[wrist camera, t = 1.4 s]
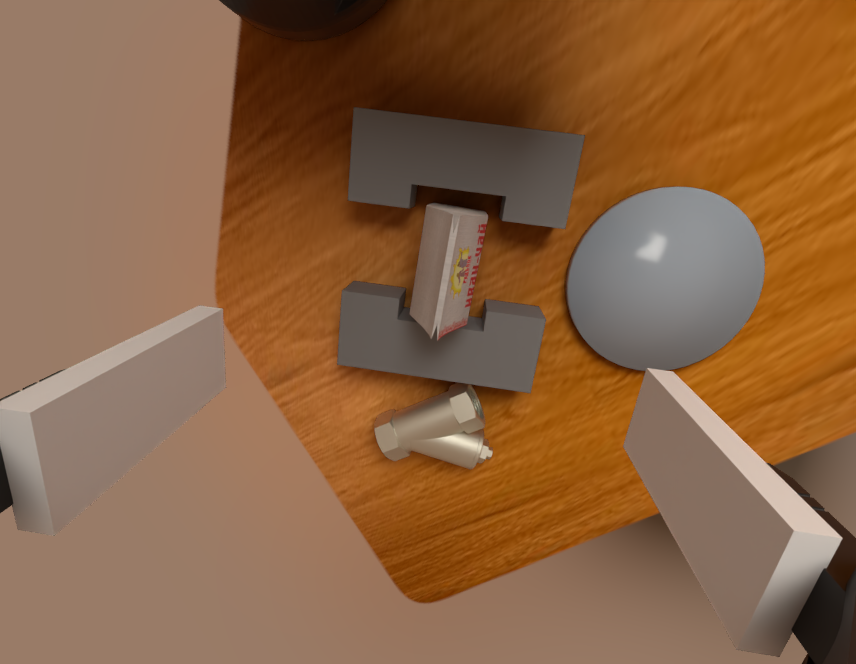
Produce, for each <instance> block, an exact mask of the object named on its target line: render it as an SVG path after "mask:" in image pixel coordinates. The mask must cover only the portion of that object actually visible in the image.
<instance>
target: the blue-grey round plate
mask: <svg viewBox="0 0 856 664" xmlns="http://www.w3.org/2000/svg"><path fill="white" fill-rule="evenodd" d="M764 266H765V261H764V254H763V248H762V245H761V241H760V238H759V236H758V234H757V232H756V230H755V228H754V226H753V224H752V223H751V222H750V220H749V219H748V217H747V216H746V215H745V214H744V213H743V212H742V211H741V210H740V209H739V208H738V207H737V206H735V205H734V204H733V203H731V202H730V201H729V200H727V199H725V198H723V197H721V196H719V195H717V194H715V193H712V192H709V191H706V190H702V189H697V188H691V187H662V188H655V189H650V190H646V191H643V192H640V193H637V194H634V195H631V196H629V197H627V198H625V199H623V200H621V201H619V202H618V203H616V204H615V205H613V206H611V207H610V208H608V209H607V210H606V211H605V212H604V213H602V214H601V215H600V216H599V217H598V218H597V219H596V220H595V221H594V222H593V223H592V224H591V225H590V226H589V227H588V229H587V230H586V231H585V233H584V234H583V235H582V237H581V238H580V240H579V242H578V244H577V245H576V247H575V249H574V252H573V254H572V256H571V259H570V262H569V266H568V269H567V276H566V291H565V293H566V301H567V306H568V310H569V313H570V316H571V318H572V321H573V323H574V325H575V327H576V328H577V330H578V331H579V333H580V334H581V336H582V337H583V338H584V339H585V341H586V342H587V343H588V344H589V345H590V346H591V347H592V348H593V349H594V350H595V351H596V352H597V353H599V354H600V355H601V356H603V357H604V358H606V359H608V360H610V361H612V362H614V363H616V364H618V365H621V366H624V367H627V368H631V369H636V370H642V371H646V369H647V368H651V369H658V370H672V369H677V368H681V367H685V366H688V365H691V364H693V363H696V362H698V361H700V360H702V359H704V358H706V357H708V356H710V355H712V354H713V353H715V352H716V351H718V350H719V349H721V348H722V347H723V346H724V345H726V344H727V343H728V342H729V341H730V340H731V339H732V338H733V337H734V336H735V335H736V334H737V333H738V332H739V331H740V330H741V328H742V327H743V326H744V325H745V323H746V322H747V321H748V319H749V317H750V316H751V314H752V312H753V310H754V309H755V306H756V304H757V302H758V299H759V297H760V293H761V290H762V286H763V280H764Z"/></svg>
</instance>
